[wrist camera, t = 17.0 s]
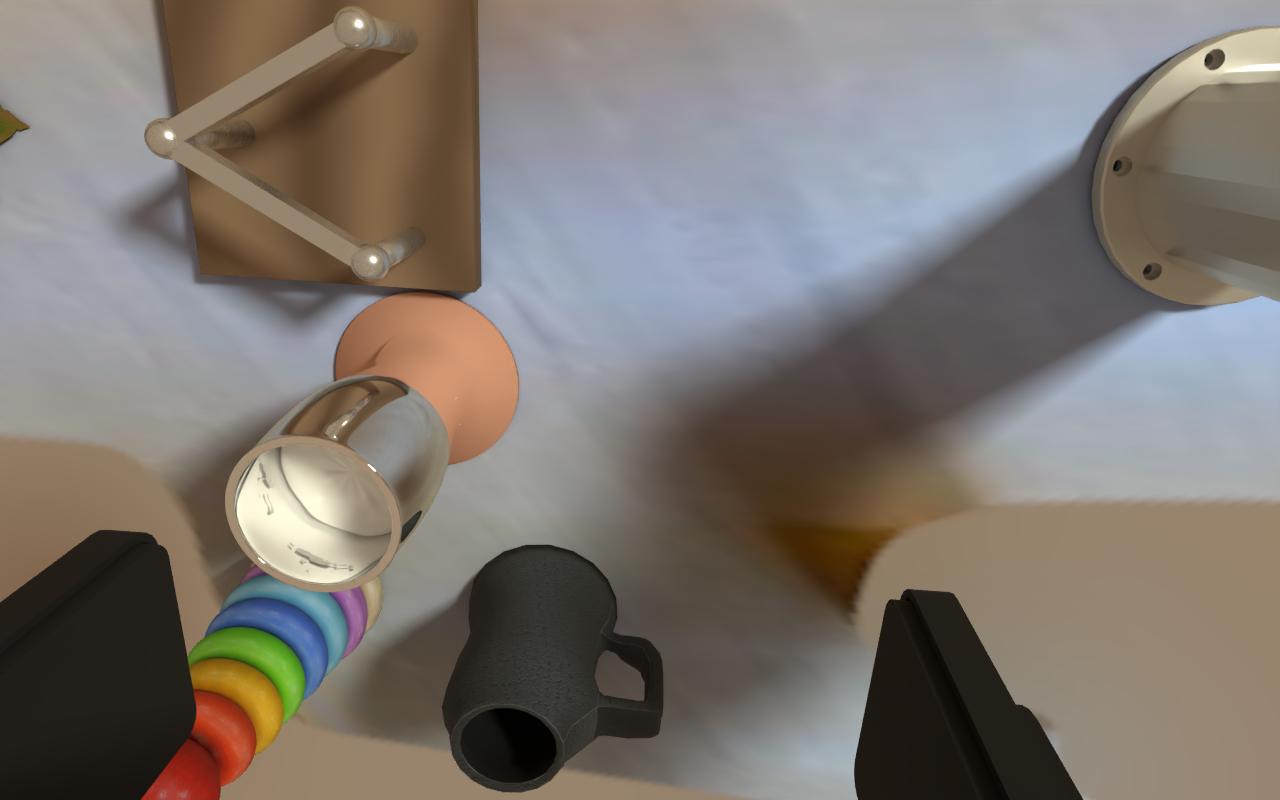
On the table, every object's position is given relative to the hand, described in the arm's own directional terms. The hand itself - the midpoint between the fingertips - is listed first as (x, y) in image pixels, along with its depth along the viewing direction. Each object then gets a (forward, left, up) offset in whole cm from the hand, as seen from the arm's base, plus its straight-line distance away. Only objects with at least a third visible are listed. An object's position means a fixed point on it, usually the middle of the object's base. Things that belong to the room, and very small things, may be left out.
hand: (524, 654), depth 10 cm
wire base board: (+14, -4, -32) cm, 35 cm away
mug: (+3, +23, -32) cm, 40 cm away
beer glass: (+11, +8, -32) cm, 35 cm away
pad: (+11, +8, -32) cm, 35 cm away
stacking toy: (+18, +22, -32) cm, 43 cm away
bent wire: (+15, -4, -31) cm, 34 cm away
